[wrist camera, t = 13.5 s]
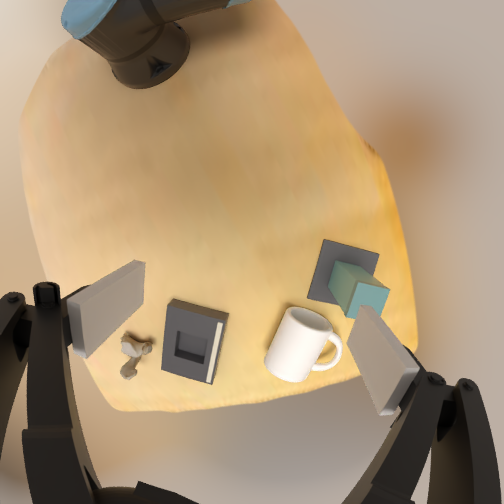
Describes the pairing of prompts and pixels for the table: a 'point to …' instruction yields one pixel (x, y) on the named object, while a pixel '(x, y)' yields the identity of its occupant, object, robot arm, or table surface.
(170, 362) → the grey socket block
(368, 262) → the mat
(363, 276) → the plug
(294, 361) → the mug
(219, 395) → the table surface
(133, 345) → the bone
